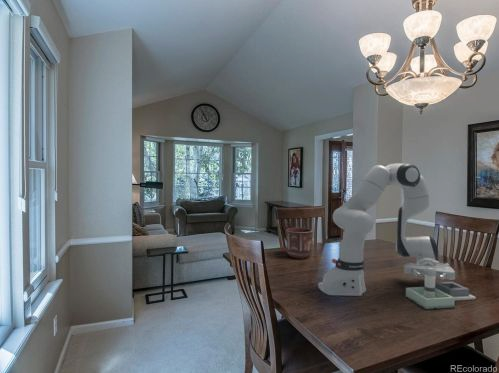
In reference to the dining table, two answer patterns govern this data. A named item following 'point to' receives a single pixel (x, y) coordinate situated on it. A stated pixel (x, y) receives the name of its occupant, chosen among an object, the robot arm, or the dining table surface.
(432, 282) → the cylinder
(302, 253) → the pottery
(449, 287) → the fuse board
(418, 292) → the parts tray
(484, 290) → the dining table surface
